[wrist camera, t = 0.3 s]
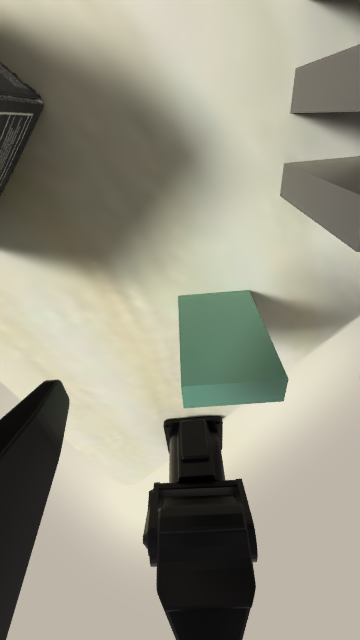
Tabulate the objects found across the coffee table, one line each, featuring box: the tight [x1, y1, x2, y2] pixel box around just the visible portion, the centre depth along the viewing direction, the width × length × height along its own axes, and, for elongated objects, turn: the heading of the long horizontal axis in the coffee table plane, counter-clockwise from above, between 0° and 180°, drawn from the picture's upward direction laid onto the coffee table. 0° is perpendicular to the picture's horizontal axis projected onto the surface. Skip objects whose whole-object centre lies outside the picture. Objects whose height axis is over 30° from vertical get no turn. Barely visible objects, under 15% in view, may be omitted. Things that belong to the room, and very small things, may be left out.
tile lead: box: [178, 290, 288, 408], centre depth 19 cm, size 2×6×9 cm, turn 95°
